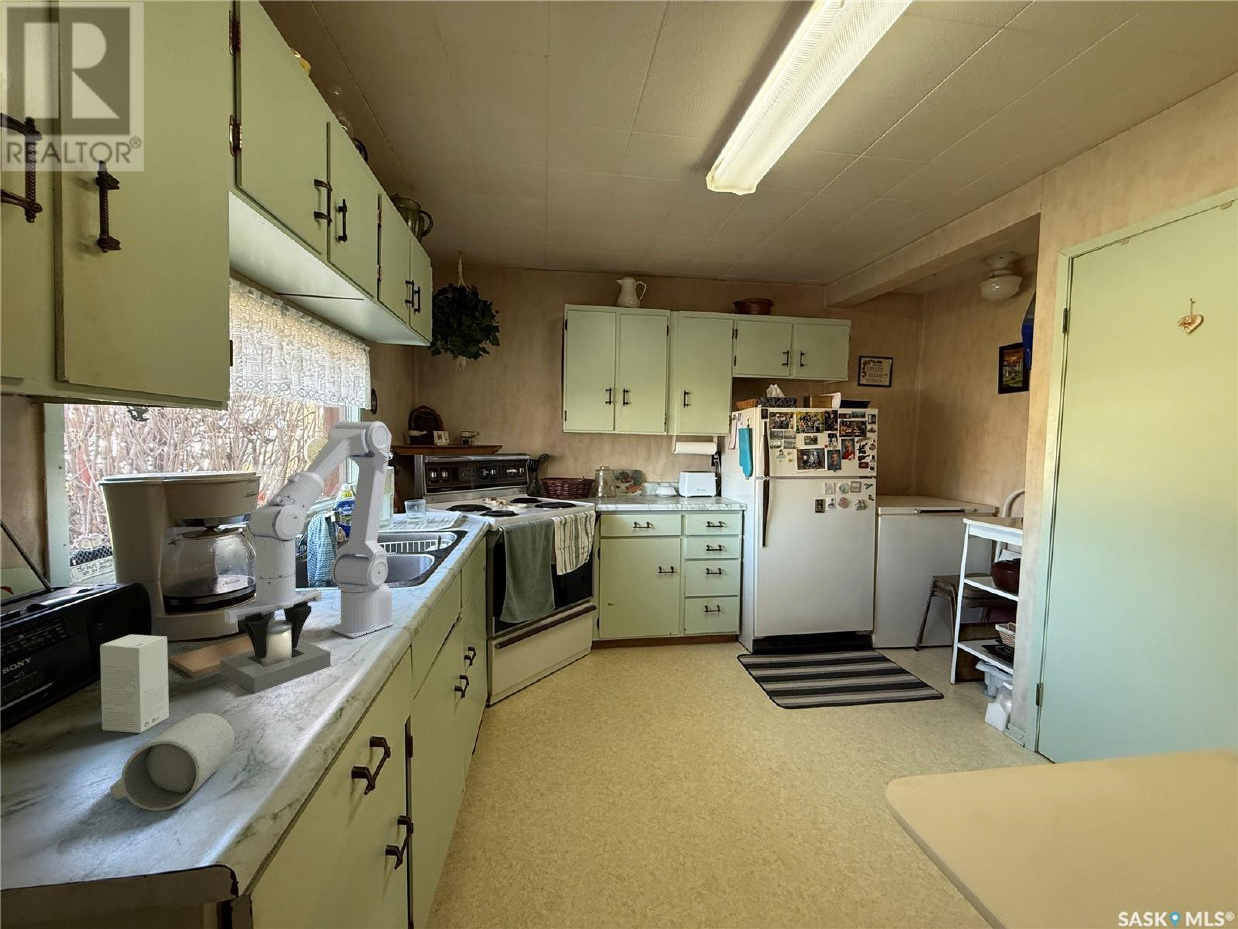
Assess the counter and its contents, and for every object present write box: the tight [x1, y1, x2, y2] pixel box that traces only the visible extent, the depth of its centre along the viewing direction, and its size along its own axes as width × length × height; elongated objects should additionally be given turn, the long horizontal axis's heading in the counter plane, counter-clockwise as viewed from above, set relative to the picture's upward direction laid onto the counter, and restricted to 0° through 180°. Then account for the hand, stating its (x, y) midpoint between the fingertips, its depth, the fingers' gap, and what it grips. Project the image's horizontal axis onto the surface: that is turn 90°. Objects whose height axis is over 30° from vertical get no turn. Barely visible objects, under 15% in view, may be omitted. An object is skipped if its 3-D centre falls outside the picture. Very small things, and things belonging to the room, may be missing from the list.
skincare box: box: [99, 633, 170, 734], centre depth 71 cm, size 6×4×12 cm
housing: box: [219, 638, 331, 694], centre depth 89 cm, size 12×12×2 cm
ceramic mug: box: [109, 712, 236, 812], centre depth 59 cm, size 11×8×8 cm
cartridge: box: [261, 619, 292, 667], centre depth 88 cm, size 5×5×8 cm
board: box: [169, 635, 254, 678], centre depth 94 cm, size 14×10×1 cm
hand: (276, 651), depth 88 cm, fingers closed on cartridge, 4 cm apart
